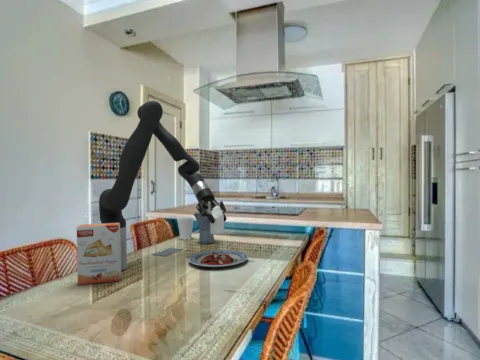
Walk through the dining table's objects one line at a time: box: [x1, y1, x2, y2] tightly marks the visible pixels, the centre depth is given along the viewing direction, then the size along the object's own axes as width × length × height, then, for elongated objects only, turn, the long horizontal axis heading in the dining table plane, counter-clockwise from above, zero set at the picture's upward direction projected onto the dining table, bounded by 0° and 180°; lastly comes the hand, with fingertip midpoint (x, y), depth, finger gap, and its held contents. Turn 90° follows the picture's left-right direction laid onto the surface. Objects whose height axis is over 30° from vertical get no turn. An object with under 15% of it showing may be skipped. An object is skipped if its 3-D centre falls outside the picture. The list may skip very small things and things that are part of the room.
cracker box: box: [76, 223, 122, 286], centre depth 111 cm, size 14×6×21 cm, turn 105°
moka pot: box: [192, 211, 215, 245], centre depth 173 cm, size 10×15×20 cm, turn 115°
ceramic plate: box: [188, 249, 249, 269], centre depth 133 cm, size 26×26×3 cm
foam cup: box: [177, 216, 194, 241], centre depth 183 cm, size 10×9×13 cm
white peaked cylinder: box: [210, 206, 225, 235], centre depth 133 cm, size 6×12×6 cm
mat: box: [151, 247, 183, 257], centre depth 152 cm, size 14×8×1 cm, turn 157°
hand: (219, 221), depth 131 cm, fingers closed on white peaked cylinder, 5 cm apart
